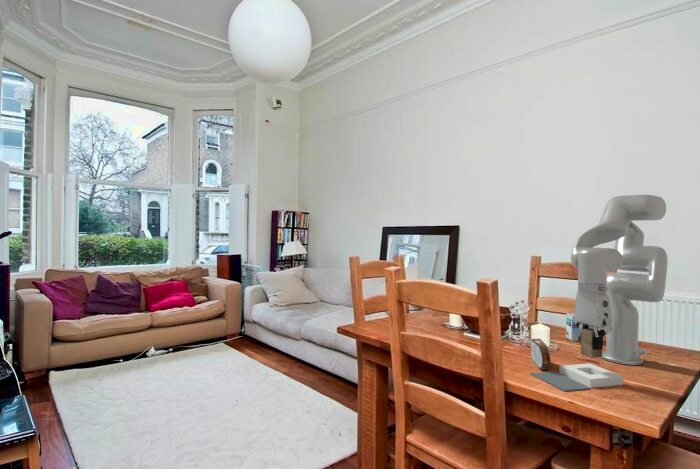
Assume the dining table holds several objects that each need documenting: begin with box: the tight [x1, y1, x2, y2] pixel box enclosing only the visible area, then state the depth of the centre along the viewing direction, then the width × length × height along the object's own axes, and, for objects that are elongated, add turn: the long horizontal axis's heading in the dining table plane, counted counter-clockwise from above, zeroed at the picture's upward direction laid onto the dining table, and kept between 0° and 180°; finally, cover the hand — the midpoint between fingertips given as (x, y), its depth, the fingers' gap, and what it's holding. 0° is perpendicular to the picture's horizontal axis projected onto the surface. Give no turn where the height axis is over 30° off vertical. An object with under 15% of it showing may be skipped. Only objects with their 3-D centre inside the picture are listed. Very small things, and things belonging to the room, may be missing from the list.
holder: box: [558, 363, 624, 389], centre depth 122 cm, size 12×12×2 cm
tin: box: [530, 338, 551, 371], centre depth 134 cm, size 15×3×8 cm, turn 168°
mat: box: [530, 370, 591, 393], centre depth 119 cm, size 9×14×1 cm, turn 14°
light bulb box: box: [565, 312, 594, 342], centre depth 169 cm, size 11×7×11 cm, turn 81°
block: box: [580, 328, 603, 359], centre depth 122 cm, size 4×4×8 cm
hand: (591, 346), depth 122 cm, fingers closed on block, 4 cm apart
